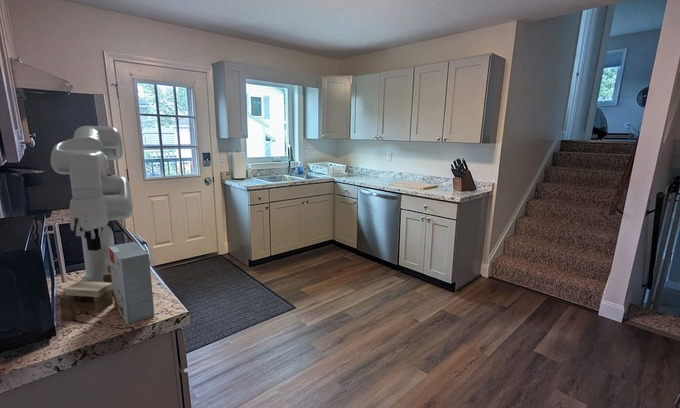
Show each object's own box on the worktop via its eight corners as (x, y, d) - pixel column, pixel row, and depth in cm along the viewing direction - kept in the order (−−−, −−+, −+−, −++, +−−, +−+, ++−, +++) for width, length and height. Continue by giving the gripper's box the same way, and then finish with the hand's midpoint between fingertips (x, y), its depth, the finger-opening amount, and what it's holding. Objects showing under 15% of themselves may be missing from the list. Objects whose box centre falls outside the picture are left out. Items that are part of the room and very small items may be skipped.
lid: (81, 286, 108) (80, 280, 107) (113, 288, 107) (112, 282, 106) (64, 295, 102) (63, 288, 101) (98, 297, 101) (97, 290, 100)
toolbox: (99, 293, 114) (96, 273, 113) (125, 295, 113) (123, 275, 112) (51, 319, 97) (48, 296, 96) (82, 321, 96) (79, 298, 95)
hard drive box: (113, 306, 106) (107, 245, 102) (141, 298, 111) (135, 241, 107) (126, 325, 95) (119, 258, 91) (155, 316, 100) (150, 252, 96)
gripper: (95, 188, 110) (101, 241, 114) (53, 196, 95) (62, 257, 99) (117, 189, 109) (122, 243, 113) (78, 198, 95) (86, 259, 99)
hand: (94, 249), depth 106 cm, fingers closed
